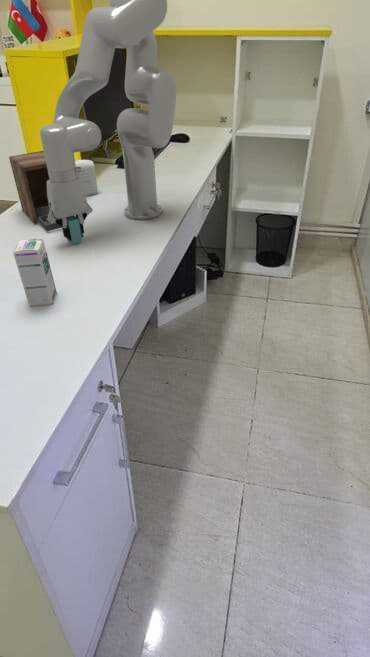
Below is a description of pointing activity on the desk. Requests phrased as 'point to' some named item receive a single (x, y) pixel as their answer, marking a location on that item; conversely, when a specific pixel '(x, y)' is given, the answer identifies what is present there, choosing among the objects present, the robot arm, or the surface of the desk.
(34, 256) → the syrup box
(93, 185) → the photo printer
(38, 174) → the walnut cubby
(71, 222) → the teal and black gadget
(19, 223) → the desk surface
